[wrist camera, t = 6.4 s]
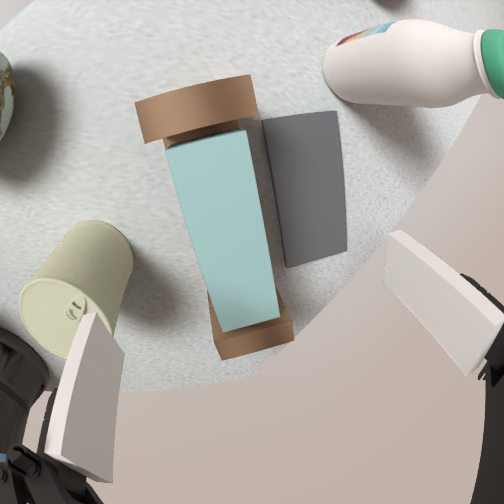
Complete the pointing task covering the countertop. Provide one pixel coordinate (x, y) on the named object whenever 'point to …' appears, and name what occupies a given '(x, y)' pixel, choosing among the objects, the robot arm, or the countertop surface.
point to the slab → (226, 225)
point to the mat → (308, 184)
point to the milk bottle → (415, 65)
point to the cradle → (200, 124)
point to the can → (77, 285)
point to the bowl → (6, 93)
